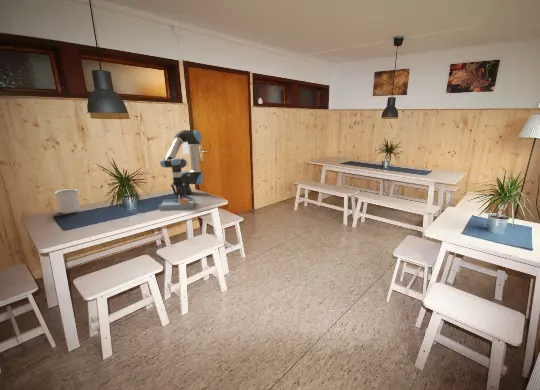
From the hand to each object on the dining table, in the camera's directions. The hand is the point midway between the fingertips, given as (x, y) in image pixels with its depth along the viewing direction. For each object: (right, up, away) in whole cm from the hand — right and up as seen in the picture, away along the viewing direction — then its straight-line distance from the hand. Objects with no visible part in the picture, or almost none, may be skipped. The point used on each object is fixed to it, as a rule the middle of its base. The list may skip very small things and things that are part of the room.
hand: (180, 202), depth 233 cm
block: (+4, -1, 0) cm, 4 cm away
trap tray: (-2, -4, +1) cm, 4 cm away
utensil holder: (-90, -7, -11) cm, 91 cm away
